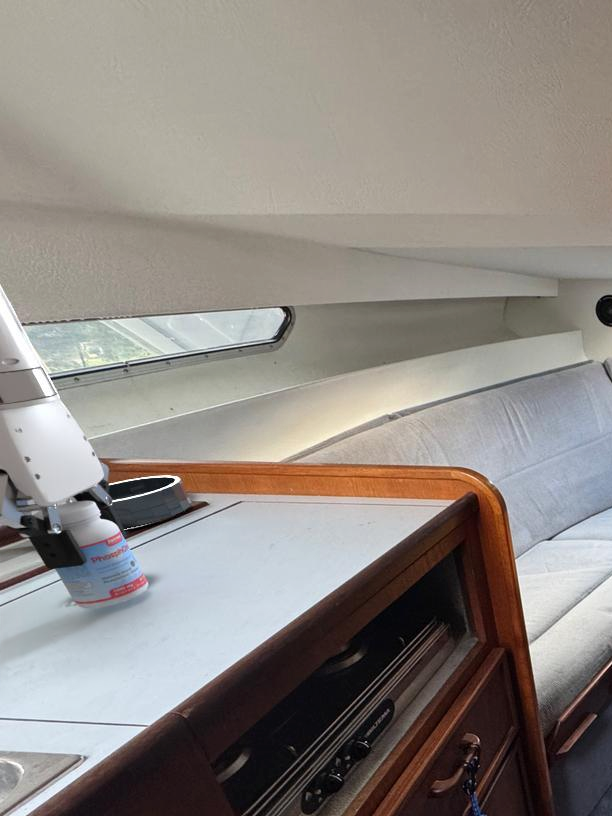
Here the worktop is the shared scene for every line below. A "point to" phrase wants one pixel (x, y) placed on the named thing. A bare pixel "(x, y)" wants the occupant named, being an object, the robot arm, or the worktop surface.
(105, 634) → the worktop surface
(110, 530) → the pill bottle
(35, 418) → the robot arm
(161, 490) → the bowl
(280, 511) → the worktop surface
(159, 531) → the worktop surface
